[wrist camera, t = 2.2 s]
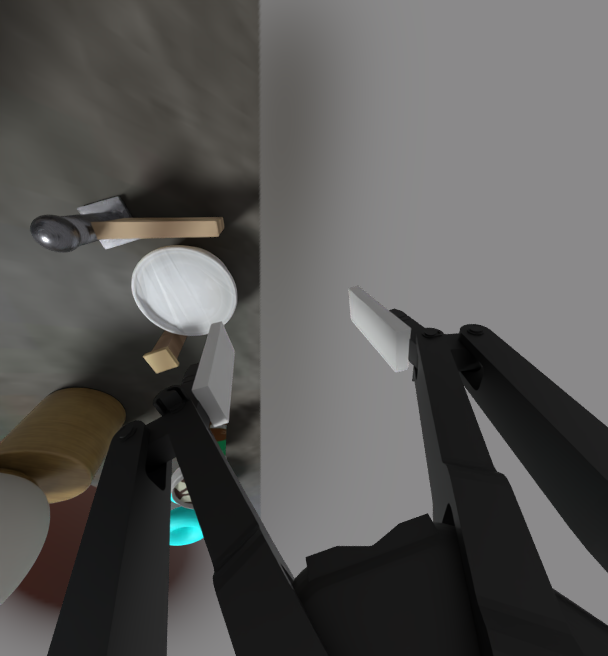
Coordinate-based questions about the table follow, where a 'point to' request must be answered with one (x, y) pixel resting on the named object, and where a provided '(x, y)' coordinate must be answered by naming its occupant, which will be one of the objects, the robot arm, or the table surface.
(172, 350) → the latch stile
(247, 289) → the table surface
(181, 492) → the food container
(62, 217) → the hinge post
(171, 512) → the donuts
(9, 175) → the table surface
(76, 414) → the lamp
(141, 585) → the robot arm
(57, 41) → the table surface
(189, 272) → the ramekin
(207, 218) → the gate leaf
